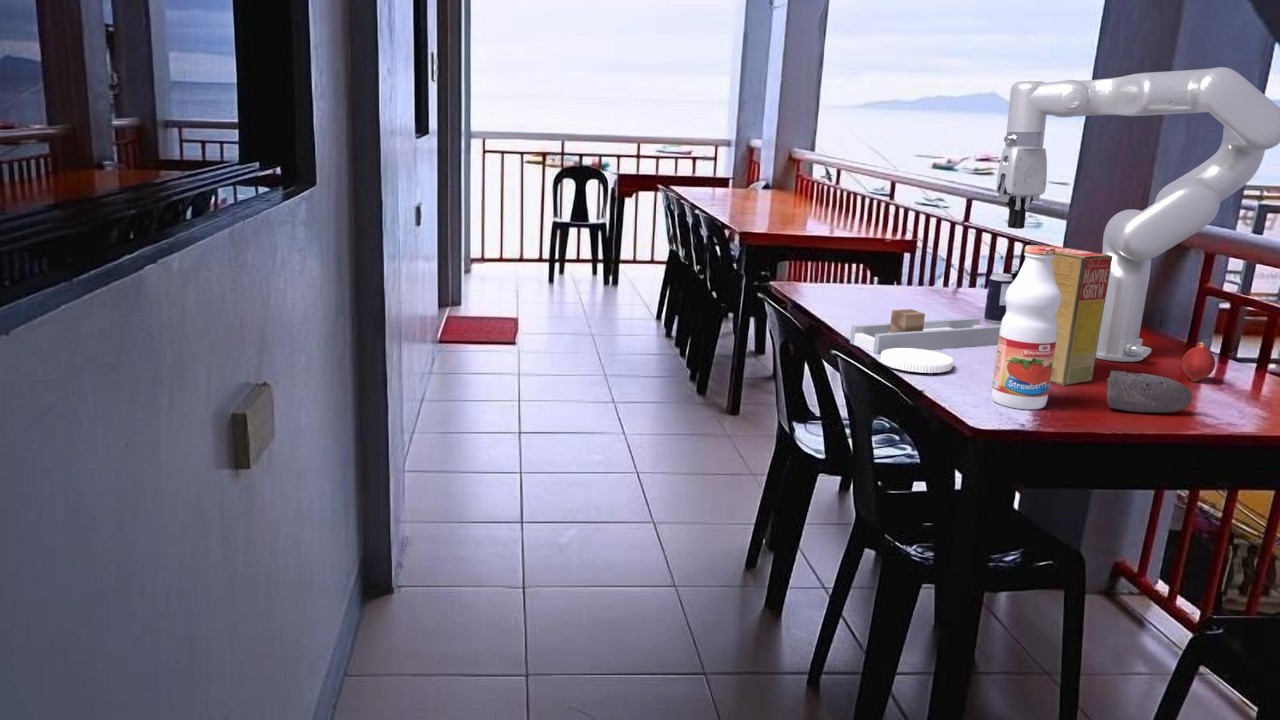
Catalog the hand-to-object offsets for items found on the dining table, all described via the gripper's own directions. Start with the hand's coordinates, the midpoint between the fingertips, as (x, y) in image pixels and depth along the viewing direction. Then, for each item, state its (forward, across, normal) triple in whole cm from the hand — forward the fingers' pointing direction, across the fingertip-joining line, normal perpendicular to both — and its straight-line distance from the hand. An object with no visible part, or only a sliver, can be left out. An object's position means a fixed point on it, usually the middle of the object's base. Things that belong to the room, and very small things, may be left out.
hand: (1015, 227), depth 209 cm
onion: (+28, +16, -35) cm, 47 cm away
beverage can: (+27, +18, +21) cm, 39 cm away
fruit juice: (+27, -31, -35) cm, 54 cm away
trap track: (+26, -16, +7) cm, 31 cm away
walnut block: (+23, -22, +7) cm, 33 cm away
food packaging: (+27, -10, -22) cm, 36 cm away
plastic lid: (+26, -32, -9) cm, 43 cm away
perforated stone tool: (+27, -12, -46) cm, 55 cm away
